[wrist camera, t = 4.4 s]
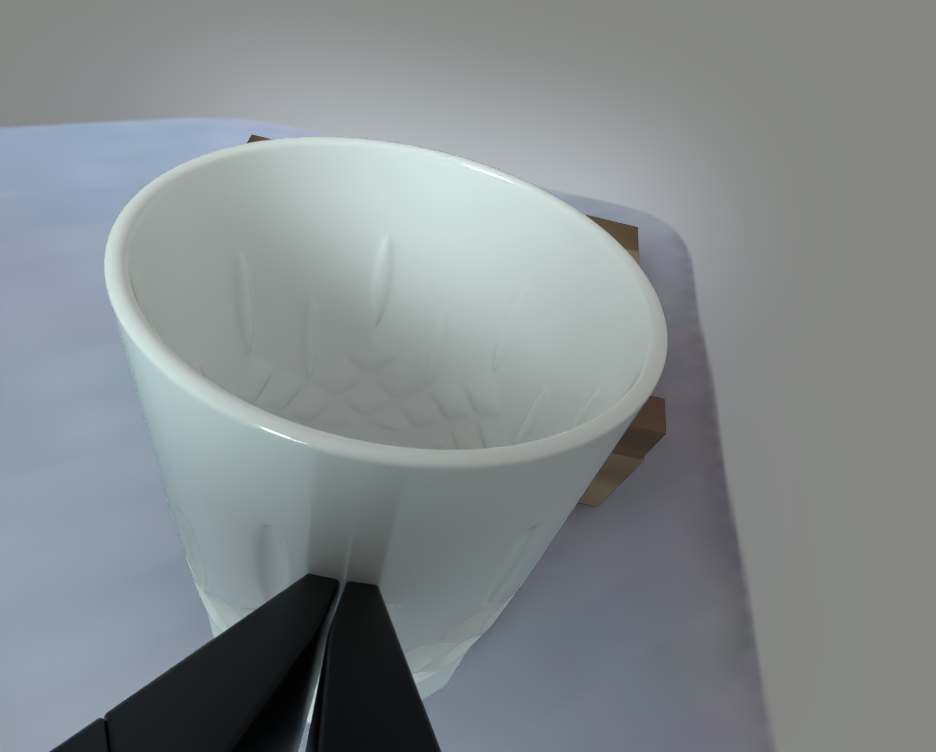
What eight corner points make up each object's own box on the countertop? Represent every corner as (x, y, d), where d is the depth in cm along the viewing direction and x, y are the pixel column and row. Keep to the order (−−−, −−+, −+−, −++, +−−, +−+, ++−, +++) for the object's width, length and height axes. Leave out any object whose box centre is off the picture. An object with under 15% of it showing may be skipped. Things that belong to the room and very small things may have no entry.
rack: (597, 506, 19) (670, 434, 15) (163, 417, 18) (109, 313, 14) (601, 292, 24) (656, 193, 20) (263, 214, 23) (245, 92, 19)
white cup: (491, 789, 13) (727, 534, 6) (115, 725, 12) (-71, 364, 6) (506, 492, 19) (635, 199, 12) (253, 439, 18) (243, 98, 11)
